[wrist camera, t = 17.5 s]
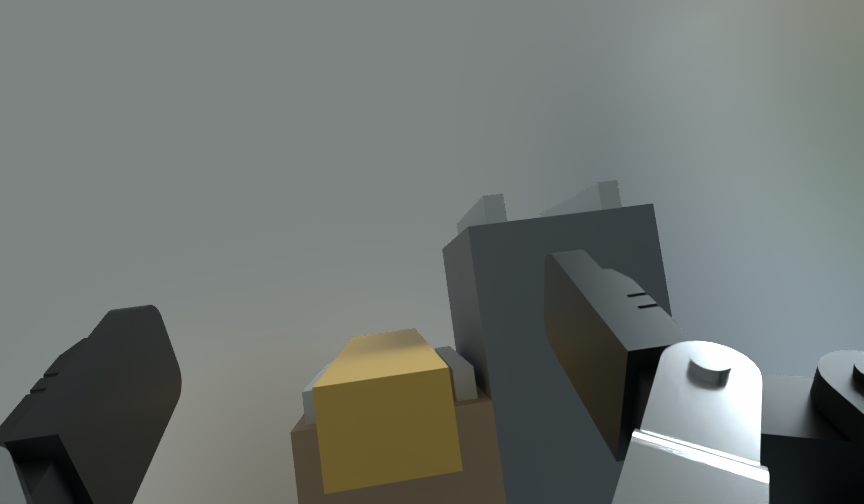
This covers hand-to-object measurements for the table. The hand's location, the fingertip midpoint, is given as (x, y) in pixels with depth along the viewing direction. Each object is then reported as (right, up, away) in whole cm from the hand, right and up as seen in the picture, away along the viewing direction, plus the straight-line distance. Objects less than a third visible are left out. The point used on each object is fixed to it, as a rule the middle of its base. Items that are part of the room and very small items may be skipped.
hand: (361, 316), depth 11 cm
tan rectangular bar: (0, -6, +13) cm, 15 cm away
